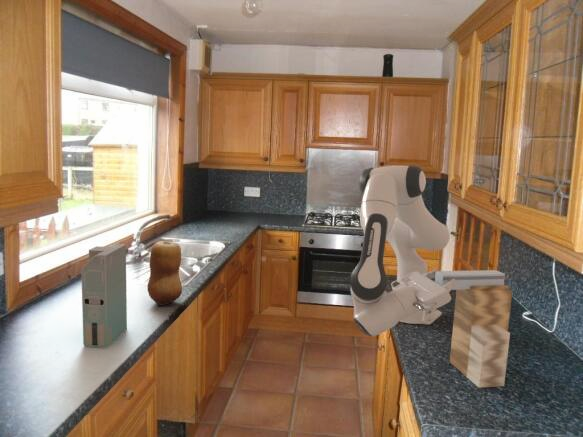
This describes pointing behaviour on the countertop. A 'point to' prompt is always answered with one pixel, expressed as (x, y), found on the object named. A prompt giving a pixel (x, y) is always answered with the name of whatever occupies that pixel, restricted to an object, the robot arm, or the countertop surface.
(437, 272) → the foil carton
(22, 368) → the countertop surface
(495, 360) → the tall wood grain block
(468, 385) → the countertop surface
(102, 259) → the device
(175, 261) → the butternut squash
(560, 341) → the countertop surface
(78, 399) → the countertop surface
